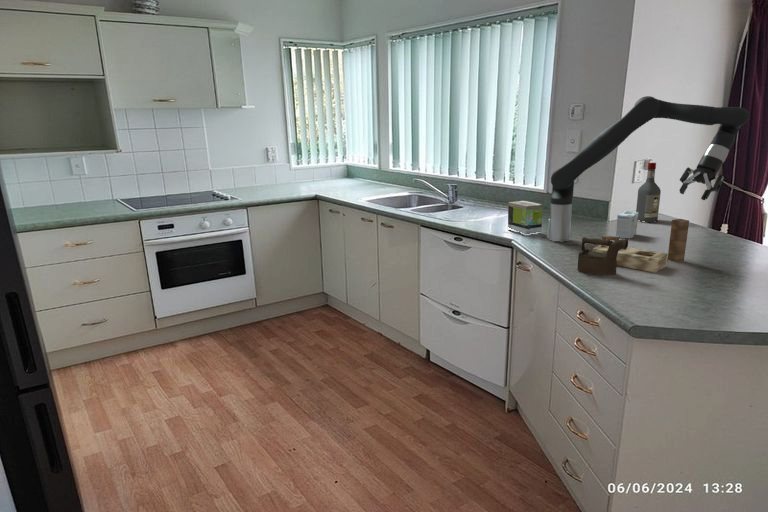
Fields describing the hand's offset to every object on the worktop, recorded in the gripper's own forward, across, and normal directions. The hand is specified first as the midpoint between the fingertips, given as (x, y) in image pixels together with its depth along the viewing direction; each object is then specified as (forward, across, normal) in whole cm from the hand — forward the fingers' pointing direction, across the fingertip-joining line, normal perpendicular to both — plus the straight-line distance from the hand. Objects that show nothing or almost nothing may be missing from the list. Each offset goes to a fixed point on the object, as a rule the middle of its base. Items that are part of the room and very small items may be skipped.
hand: (691, 196), depth 195 cm
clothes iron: (+42, -2, -30) cm, 52 cm away
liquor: (+8, -40, +52) cm, 66 cm away
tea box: (+40, -63, -4) cm, 74 cm away
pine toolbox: (+34, -1, -15) cm, 38 cm away
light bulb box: (+22, -28, +20) cm, 40 cm away
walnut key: (+25, +7, -1) cm, 26 cm away
